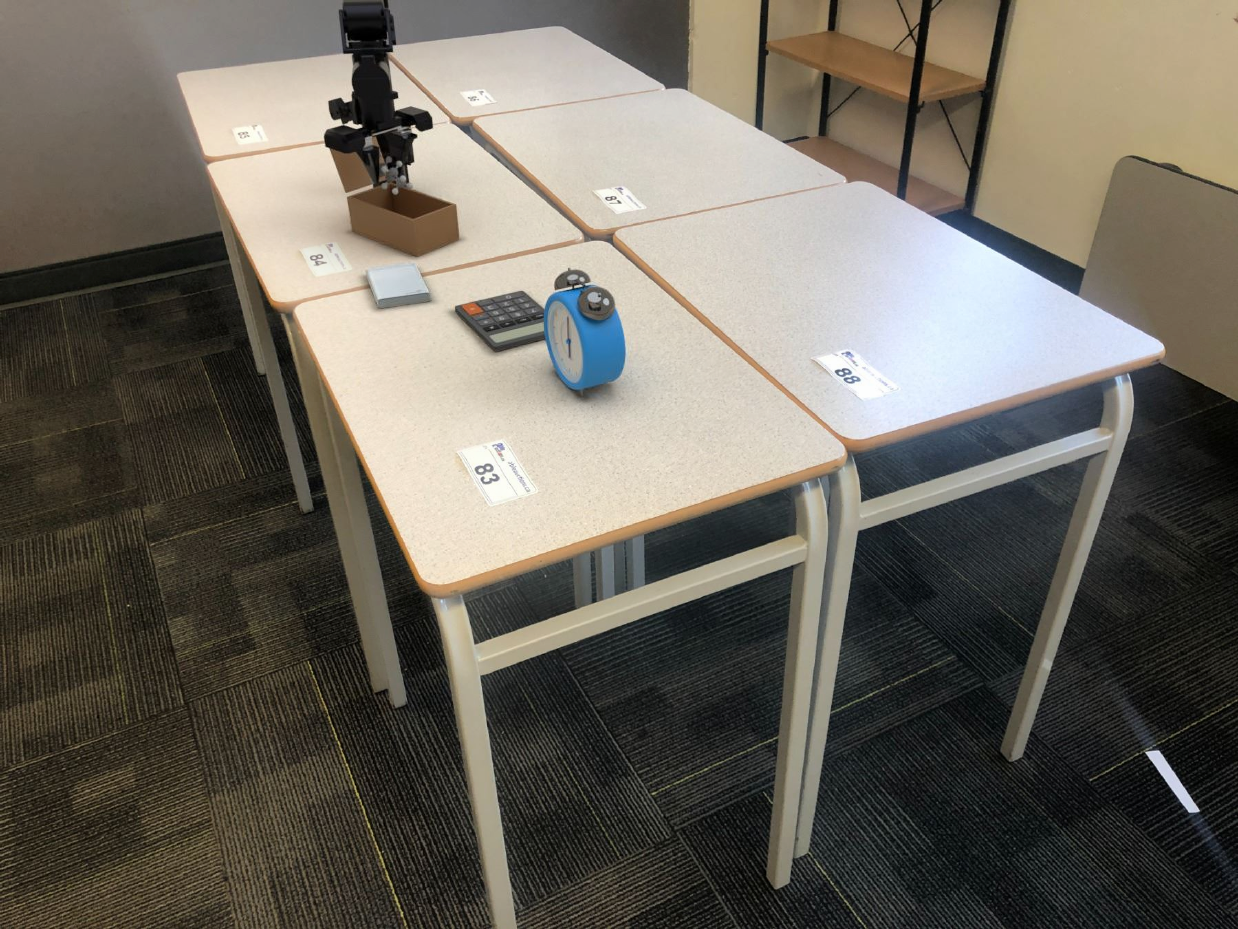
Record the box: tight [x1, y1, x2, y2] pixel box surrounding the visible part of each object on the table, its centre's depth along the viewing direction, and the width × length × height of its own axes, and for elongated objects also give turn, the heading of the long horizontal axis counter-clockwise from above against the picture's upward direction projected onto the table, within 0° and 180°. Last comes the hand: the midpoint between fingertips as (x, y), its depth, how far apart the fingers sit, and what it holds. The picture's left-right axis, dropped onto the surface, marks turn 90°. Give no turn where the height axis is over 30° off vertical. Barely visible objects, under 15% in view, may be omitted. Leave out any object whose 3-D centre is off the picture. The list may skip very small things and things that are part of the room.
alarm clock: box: [544, 267, 627, 397], centre depth 125 cm, size 13×6×15 cm, turn 29°
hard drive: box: [365, 262, 432, 309], centre depth 152 cm, size 2×8×12 cm
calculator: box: [454, 290, 546, 352], centre depth 143 cm, size 12×1×15 cm
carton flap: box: [328, 137, 388, 194], centre depth 169 cm, size 9×10×1 cm
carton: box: [346, 183, 461, 258], centre depth 169 cm, size 18×10×6 cm, turn 51°
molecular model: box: [371, 152, 414, 195], centre depth 163 cm, size 14×4×5 cm, turn 39°
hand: (386, 179), depth 163 cm, fingers closed on molecular model, 4 cm apart
